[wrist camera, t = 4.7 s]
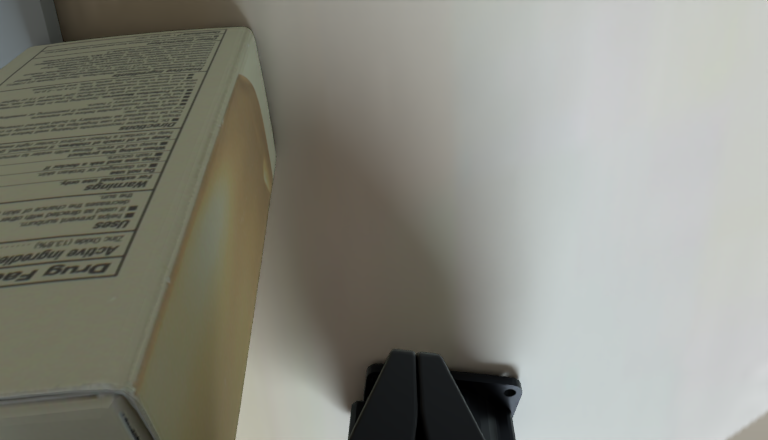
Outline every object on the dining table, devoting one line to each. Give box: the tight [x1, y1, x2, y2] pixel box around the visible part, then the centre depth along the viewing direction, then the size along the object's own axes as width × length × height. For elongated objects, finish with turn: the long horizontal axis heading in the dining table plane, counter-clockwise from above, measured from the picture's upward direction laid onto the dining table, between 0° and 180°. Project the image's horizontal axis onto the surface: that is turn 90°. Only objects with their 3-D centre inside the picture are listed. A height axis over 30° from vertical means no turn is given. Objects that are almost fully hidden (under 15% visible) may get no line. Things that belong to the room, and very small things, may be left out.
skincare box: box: [0, 27, 276, 440], centre depth 11 cm, size 6×4×12 cm
